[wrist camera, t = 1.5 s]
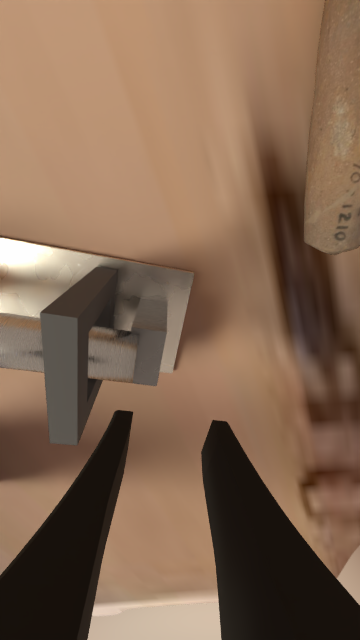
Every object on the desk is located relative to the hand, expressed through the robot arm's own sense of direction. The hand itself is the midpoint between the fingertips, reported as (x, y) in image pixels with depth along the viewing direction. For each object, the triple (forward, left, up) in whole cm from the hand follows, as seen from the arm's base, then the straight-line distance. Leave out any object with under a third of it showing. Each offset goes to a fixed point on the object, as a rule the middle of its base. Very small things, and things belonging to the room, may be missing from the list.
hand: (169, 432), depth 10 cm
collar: (0, +5, -10) cm, 11 cm away
